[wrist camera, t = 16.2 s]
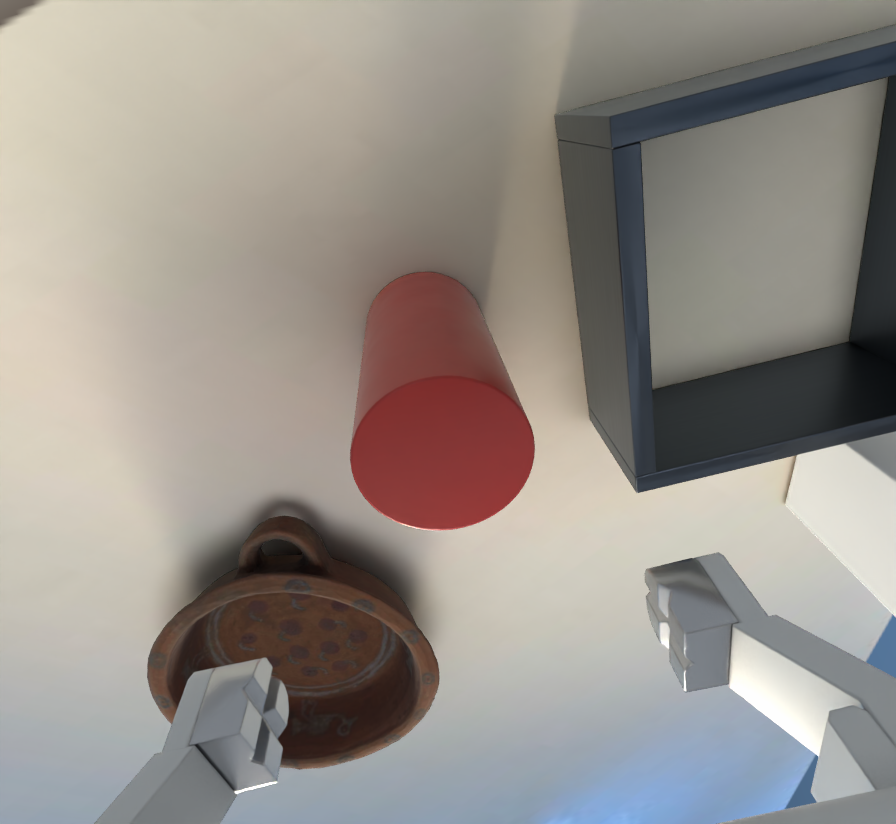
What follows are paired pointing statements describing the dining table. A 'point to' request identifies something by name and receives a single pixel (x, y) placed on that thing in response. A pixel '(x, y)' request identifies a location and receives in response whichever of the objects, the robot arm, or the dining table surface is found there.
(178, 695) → the dish
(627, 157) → the open box
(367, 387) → the can
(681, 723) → the dining table surface
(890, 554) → the milk carton
